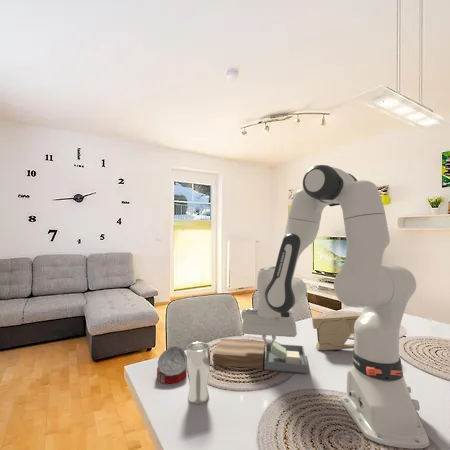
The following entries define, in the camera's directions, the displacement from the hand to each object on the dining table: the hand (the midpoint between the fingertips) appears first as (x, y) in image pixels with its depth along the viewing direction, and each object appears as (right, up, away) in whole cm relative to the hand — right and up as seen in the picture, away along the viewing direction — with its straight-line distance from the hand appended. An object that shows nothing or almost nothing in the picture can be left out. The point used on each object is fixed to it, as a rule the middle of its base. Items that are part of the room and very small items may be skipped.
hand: (269, 346), depth 105 cm
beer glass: (-24, -5, -23) cm, 34 cm away
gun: (+32, -5, +8) cm, 34 cm away
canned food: (-34, -6, -11) cm, 37 cm away
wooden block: (-11, -5, +2) cm, 12 cm away
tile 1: (+3, -3, 0) cm, 4 cm away
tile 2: (+8, -2, -2) cm, 9 cm away
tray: (+6, -5, -1) cm, 8 cm away
